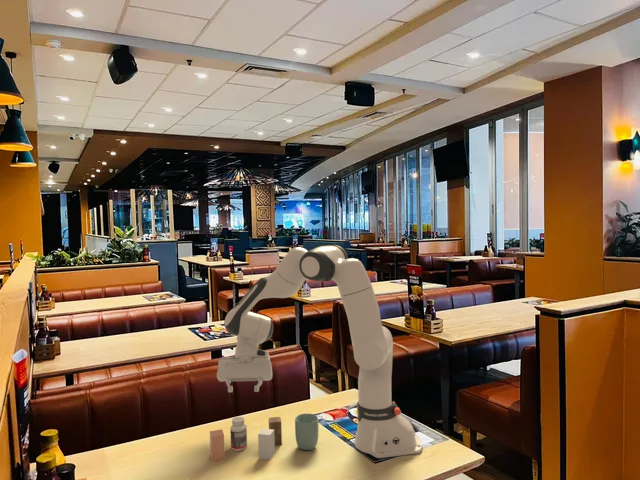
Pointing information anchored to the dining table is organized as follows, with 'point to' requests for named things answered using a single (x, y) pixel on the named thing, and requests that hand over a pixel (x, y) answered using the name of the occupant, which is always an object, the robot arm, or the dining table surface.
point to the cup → (306, 431)
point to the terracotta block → (217, 445)
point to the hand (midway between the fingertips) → (243, 391)
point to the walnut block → (276, 429)
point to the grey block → (266, 444)
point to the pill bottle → (238, 434)
